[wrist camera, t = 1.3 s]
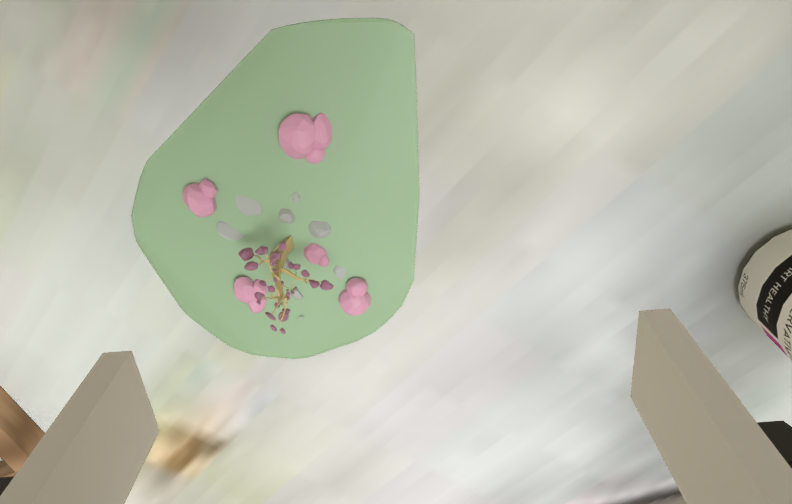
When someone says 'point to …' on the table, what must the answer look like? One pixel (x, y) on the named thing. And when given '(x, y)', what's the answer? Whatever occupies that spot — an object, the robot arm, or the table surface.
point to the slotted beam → (15, 436)
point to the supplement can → (770, 290)
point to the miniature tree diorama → (292, 191)
